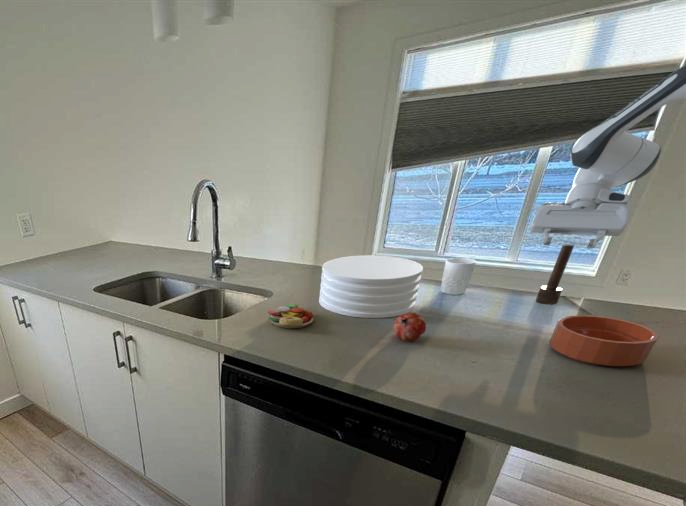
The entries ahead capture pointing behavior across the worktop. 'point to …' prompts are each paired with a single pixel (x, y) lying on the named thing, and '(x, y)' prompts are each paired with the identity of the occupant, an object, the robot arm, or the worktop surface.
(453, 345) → the worktop surface
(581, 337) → the bowl
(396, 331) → the pomegranate
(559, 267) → the muddler
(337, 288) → the plate stack
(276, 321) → the toy food set
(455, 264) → the white cup
